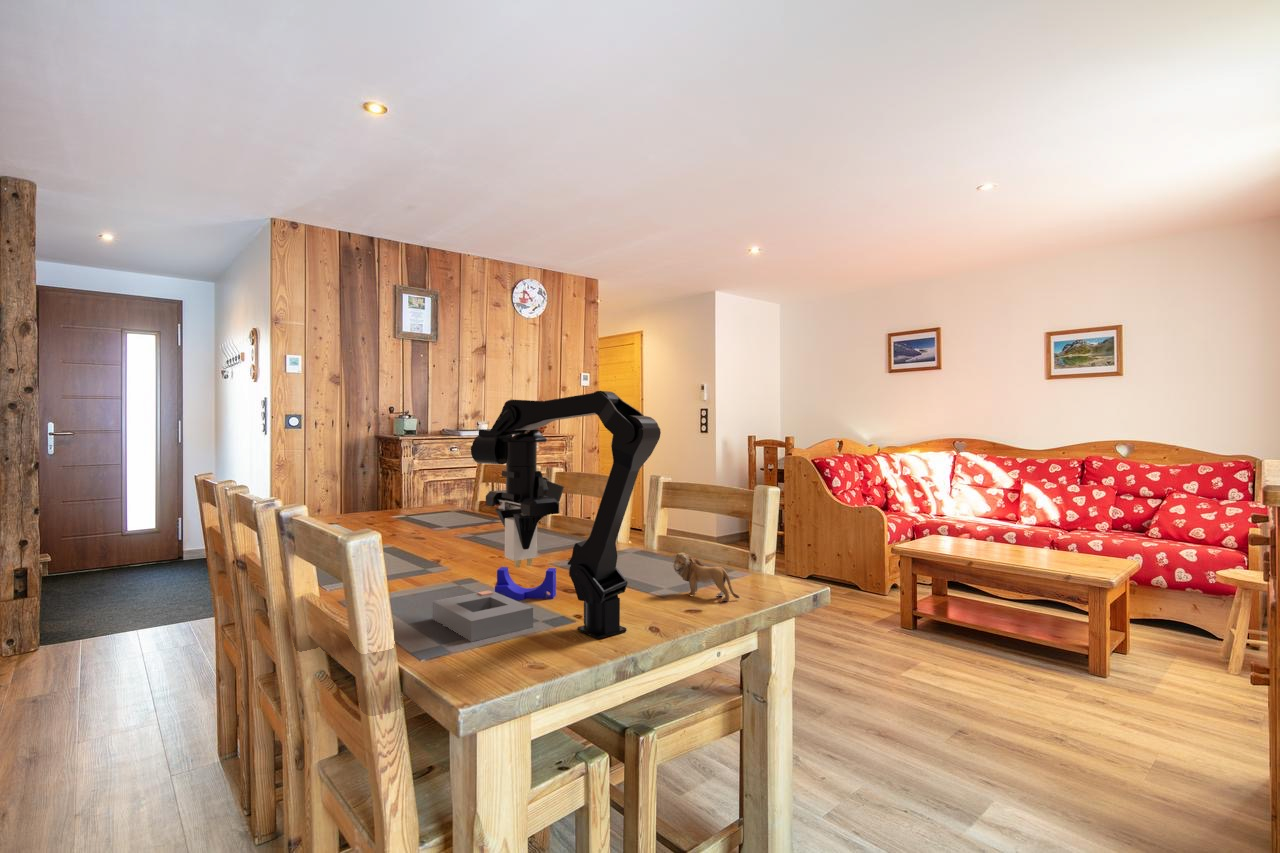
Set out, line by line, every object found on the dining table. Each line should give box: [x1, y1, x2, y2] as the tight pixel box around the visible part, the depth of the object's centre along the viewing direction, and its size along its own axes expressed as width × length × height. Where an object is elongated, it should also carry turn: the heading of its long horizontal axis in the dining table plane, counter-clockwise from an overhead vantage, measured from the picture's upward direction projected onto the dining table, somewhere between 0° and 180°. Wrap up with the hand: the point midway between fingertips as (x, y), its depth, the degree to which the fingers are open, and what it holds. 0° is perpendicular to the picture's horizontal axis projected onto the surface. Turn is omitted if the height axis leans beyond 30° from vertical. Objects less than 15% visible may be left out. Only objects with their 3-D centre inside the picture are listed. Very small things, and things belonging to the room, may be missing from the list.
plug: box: [504, 517, 538, 568], centre depth 121 cm, size 4×5×9 cm
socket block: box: [432, 589, 534, 643], centre depth 117 cm, size 16×12×4 cm
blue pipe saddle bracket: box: [494, 566, 557, 601], centre depth 134 cm, size 12×4×6 cm, turn 86°
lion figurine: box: [672, 552, 741, 602], centre depth 135 cm, size 15×5×9 cm, turn 68°
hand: (520, 547), depth 121 cm, fingers closed on plug, 4 cm apart
